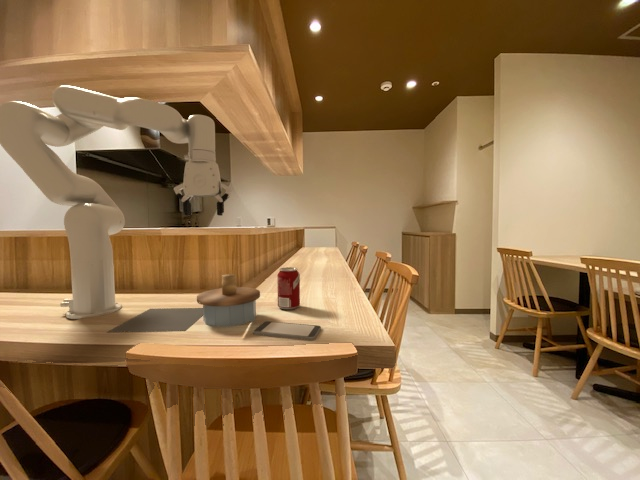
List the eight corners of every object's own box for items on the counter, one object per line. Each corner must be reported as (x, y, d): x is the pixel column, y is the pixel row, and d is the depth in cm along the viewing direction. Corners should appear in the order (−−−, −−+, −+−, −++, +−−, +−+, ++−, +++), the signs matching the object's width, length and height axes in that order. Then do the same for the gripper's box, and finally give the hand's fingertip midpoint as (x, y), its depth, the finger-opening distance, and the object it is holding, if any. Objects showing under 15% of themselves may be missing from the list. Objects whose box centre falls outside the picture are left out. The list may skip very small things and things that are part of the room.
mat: (106, 334, 64) (106, 332, 64) (150, 310, 82) (150, 308, 82) (185, 333, 65) (185, 330, 65) (211, 309, 83) (211, 307, 83)
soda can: (289, 312, 80) (288, 271, 80) (273, 308, 85) (272, 269, 84) (304, 306, 86) (304, 268, 85) (288, 303, 90) (288, 266, 89)
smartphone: (265, 320, 72) (321, 325, 68) (265, 324, 72) (321, 330, 68) (251, 331, 64) (313, 337, 61) (251, 336, 65) (313, 342, 61)
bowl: (196, 329, 68) (195, 305, 67) (214, 312, 81) (213, 291, 80) (249, 328, 68) (249, 304, 68) (258, 311, 81) (258, 291, 81)
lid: (186, 306, 66) (185, 282, 65) (209, 290, 82) (208, 270, 81) (254, 305, 67) (253, 281, 66) (264, 289, 83) (263, 270, 82)
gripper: (167, 155, 80) (169, 215, 81) (227, 156, 81) (229, 215, 82) (179, 161, 88) (180, 215, 89) (234, 162, 88) (235, 215, 89)
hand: (204, 215), depth 85 cm, fingers open, 9 cm apart
